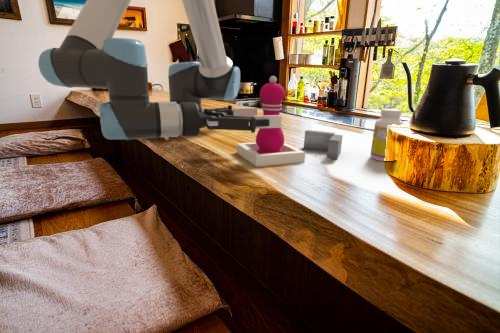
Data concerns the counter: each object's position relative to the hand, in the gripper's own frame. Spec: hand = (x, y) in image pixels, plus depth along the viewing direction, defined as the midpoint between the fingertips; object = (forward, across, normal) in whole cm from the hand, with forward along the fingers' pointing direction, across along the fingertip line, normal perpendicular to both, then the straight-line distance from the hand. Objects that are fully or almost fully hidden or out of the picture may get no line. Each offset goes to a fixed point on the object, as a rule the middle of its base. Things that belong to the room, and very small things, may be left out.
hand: (267, 116), depth 74 cm
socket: (+1, 0, -10) cm, 10 cm away
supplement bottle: (+30, +9, -11) cm, 33 cm away
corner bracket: (+19, -1, -10) cm, 21 cm away
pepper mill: (+1, 0, -11) cm, 11 cm away
